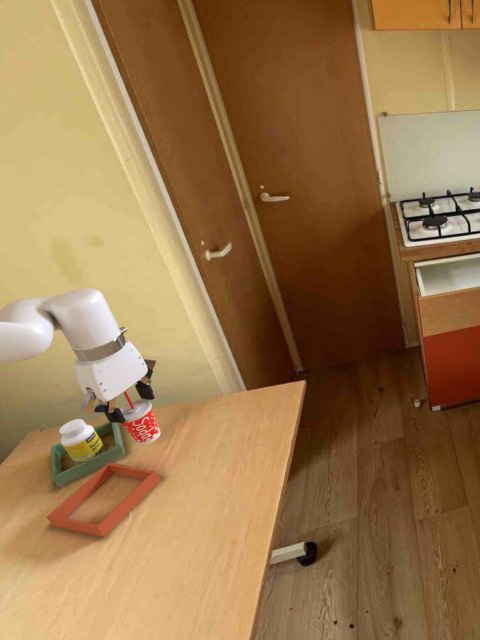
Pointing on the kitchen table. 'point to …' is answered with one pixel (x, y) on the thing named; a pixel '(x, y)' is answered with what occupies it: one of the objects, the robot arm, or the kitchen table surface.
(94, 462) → the bin
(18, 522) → the kitchen table surface
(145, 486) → the bin
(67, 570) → the kitchen table surface
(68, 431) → the supplement bottle
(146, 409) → the beverage cup
